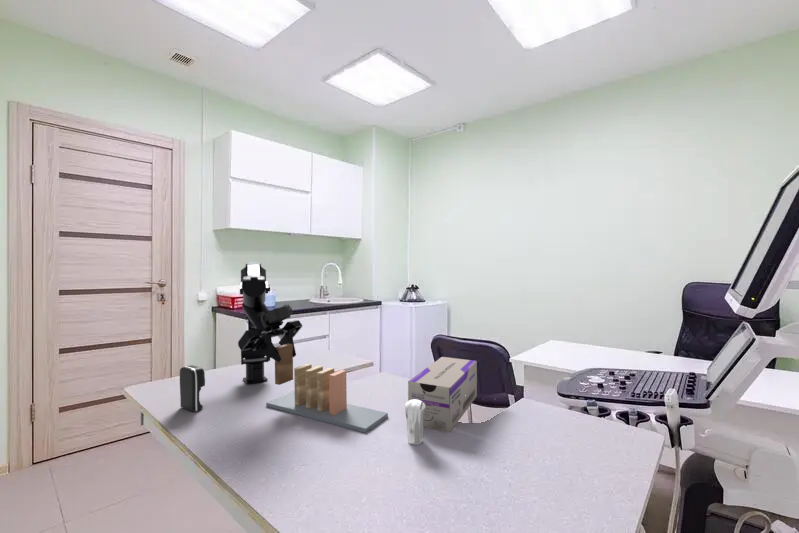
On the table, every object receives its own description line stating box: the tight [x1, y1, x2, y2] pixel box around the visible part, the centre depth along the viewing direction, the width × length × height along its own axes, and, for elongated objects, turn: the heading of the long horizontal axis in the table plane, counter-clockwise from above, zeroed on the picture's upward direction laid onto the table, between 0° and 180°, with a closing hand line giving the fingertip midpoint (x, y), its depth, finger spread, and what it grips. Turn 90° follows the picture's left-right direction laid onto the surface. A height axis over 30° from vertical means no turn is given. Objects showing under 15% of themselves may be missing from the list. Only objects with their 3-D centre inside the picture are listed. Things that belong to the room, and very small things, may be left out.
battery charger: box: [179, 364, 206, 413], centre depth 103 cm, size 7×4×11 cm, turn 57°
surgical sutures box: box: [407, 356, 478, 433], centre depth 102 cm, size 25×11×11 cm, turn 154°
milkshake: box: [404, 399, 426, 446], centre depth 84 cm, size 4×5×10 cm
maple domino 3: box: [317, 367, 335, 412], centre depth 100 cm, size 2×5×10 cm, turn 151°
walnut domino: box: [274, 343, 294, 386], centre depth 104 cm, size 2×5×10 cm, turn 150°
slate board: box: [265, 390, 389, 434], centre depth 101 cm, size 33×10×1 cm, turn 61°
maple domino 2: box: [306, 365, 324, 409], centre depth 102 cm, size 2×5×10 cm, turn 151°
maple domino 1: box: [293, 363, 313, 406], centre depth 104 cm, size 2×5×10 cm, turn 151°
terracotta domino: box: [329, 369, 348, 415], centre depth 98 cm, size 2×5×10 cm, turn 151°
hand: (287, 358), depth 103 cm, fingers closed on walnut domino, 5 cm apart
